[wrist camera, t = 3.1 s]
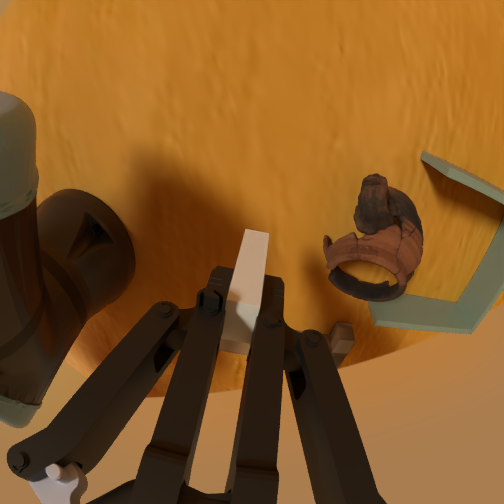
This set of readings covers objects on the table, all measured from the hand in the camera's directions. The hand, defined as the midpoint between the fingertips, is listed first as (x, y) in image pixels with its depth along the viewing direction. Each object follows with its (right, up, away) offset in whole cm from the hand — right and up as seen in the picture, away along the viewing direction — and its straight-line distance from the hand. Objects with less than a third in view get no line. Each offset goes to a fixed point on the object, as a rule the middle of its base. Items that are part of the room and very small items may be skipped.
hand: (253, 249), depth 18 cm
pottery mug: (+11, +3, +7) cm, 13 cm away
